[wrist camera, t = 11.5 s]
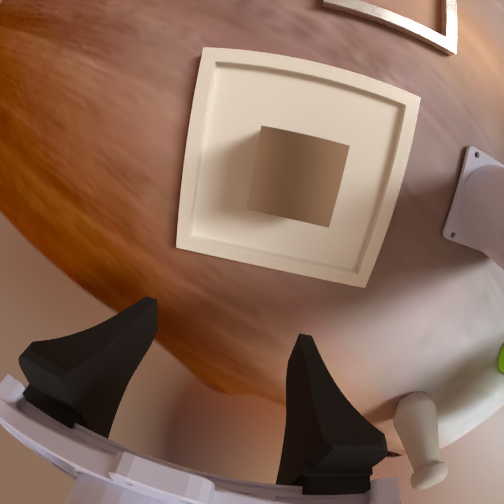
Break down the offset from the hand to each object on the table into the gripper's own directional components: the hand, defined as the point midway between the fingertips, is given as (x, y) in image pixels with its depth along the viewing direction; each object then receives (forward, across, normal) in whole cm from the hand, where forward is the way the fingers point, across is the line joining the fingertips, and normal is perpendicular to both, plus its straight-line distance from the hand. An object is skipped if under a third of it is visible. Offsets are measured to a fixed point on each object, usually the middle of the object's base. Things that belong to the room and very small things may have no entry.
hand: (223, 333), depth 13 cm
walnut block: (+9, -2, -7) cm, 12 cm away
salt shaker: (+10, -24, +16) cm, 30 cm away
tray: (+10, -2, -7) cm, 12 cm away
